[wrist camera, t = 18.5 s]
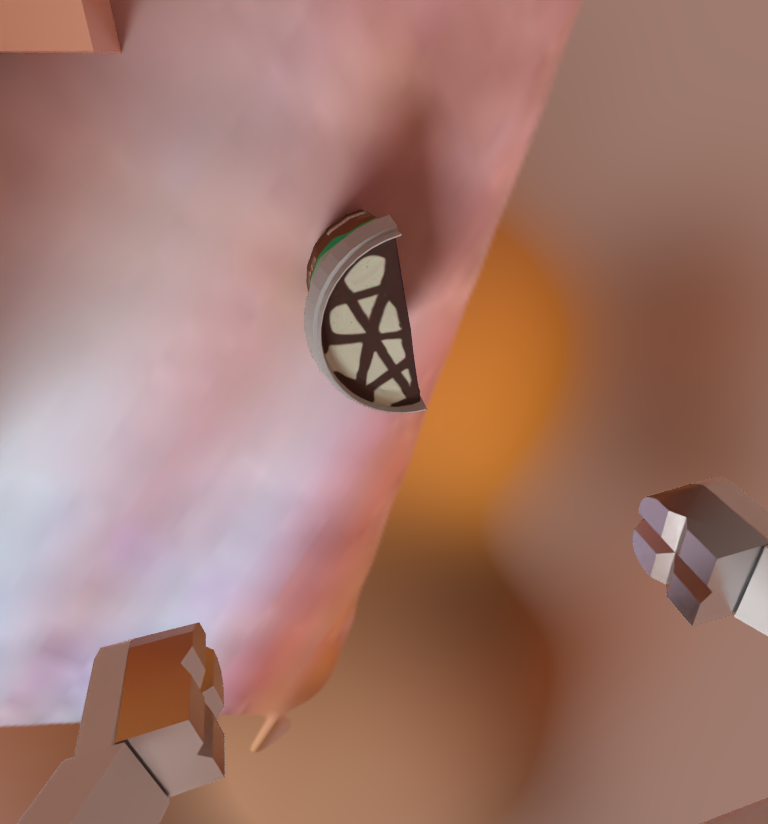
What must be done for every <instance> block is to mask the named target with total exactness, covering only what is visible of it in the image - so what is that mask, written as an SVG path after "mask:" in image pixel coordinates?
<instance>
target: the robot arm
mask: <svg viewBox="0 0 768 824" xmlns="http://www.w3.org/2000/svg"><path fill="white" fill-rule="evenodd" d="M639 513H640V515H641V516H642V517H643V520H642V521H641V522H640V523H639V524H638V526H637V527H636V528H635V529H634V534H633V540H632V542H633V546H634V550H635V554H636V557H637V559H638V560H639V562H640V564H641V566H642V567H643V568H644V570H645V571H646V572H647V573H648V575H649V576H650V577H652V578H654V579H656V580H658V581H660V582H662V583H664V584H666V594H667V597H668V598H669V600H670V601H671V602H672V603H673V604H674V606H675V607H676V608H677V609H678V610H679V611H680V613H681V614H682V615H683V616H684V617H685V619H686V620H687V621H688V622H689V623H690V624H691V626H695V625H699V624H702V623H706V622H709V621H713V620H716V619H720V618H723V617H726V616H730V615H733V614H735V616H734V617H736V618H737V619H739V620H741V621H743V622H744V623H746V624H748V625H749V626H751V627H753V628H755V629H756V630H758V631H760V632H762V633H763V634H765V635H767V636H768V511H767V510H765V509H764V508H763V507H761V506H760V505H759V504H758V503H757V502H756V501H754V500H753V499H752V498H751V497H749V496H748V495H747V494H746V493H744V492H743V491H742V490H741V489H740V488H738V487H737V486H736V485H735V484H733V483H732V482H731V481H729V480H728V479H726V478H723V477H720V476H719V477H715V478H711V479H707V480H704V481H701V482H697V483H694V484H688V485H684V486H681V487H677V488H674V489H670V490H667V491H664V492H660V493H657V494H654V495H650V496H647V497H645V498H644V500H642V501H641V503H640V507H639ZM223 708H224V687H223V680H222V673H221V668H220V665H219V661H218V658H217V656H216V654H215V652H214V650H213V649H210V648H208V647H206V634H205V632H204V630H203V628H202V626H201V625H200V623H195V624H191V625H187V626H183V627H179V628H175V629H171V630H167V631H163V632H159V633H155V634H151V635H147V636H143V637H139V638H135V639H131V640H128V641H124V642H120V643H117V644H113V645H109V646H105V647H102V648H100V650H99V652H98V653H97V655H96V657H95V659H94V663H93V667H92V672H91V677H90V682H89V686H88V691H87V696H86V701H85V705H84V710H83V715H82V720H81V725H80V729H79V735H78V739H77V744H76V749H75V753H74V757H72V758H69V759H66V760H63V761H62V763H61V764H60V765H59V767H58V768H57V770H56V771H55V772H54V774H53V775H52V776H51V778H50V779H49V780H48V782H47V783H46V785H45V786H44V787H43V789H42V790H41V792H40V793H39V794H38V795H37V797H36V798H35V800H34V801H33V802H32V804H31V805H30V806H29V808H28V809H27V810H26V812H25V813H24V815H23V816H22V817H21V819H20V820H19V821H18V823H17V824H160V821H161V819H162V817H163V815H164V813H165V811H166V809H167V807H168V805H169V802H170V799H169V797H171V796H174V795H177V794H180V793H183V792H186V791H189V790H191V789H194V788H197V787H200V786H203V785H205V784H208V783H211V782H214V781H217V780H219V779H222V778H225V776H224V775H225V771H224V770H225V769H224V768H225V761H224V760H225V757H224V756H225V755H224V754H225V753H224V733H223V730H222V729H221V727H220V725H219V723H218V721H217V718H218V716H219V714H220V713H221V711H222V709H223ZM700 824H768V797H767V798H765V799H762V800H760V801H757V802H754V803H752V804H750V805H747V806H744V807H742V808H739V809H736V810H734V811H731V812H729V813H726V814H724V815H721V816H718V817H716V818H713V819H711V820H708V821H706V822H703V823H700Z"/></svg>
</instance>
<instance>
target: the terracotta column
mask: <svg viewBox="0 0 768 824" xmlns="http://www.w3.org/2000/svg"><path fill="white" fill-rule="evenodd" d="M0 52H5V53H121V49H120V45H119V40H118V36H117V31H116V27H115V22H114V18H113V13H112V9H111V4H110V0H0Z"/></svg>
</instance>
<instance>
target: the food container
mask: <svg viewBox="0 0 768 824" xmlns="http://www.w3.org/2000/svg"><path fill="white" fill-rule="evenodd" d="M399 236H402V234H401V233H400V232H399V231H398V227H397V225H396V223H395V222H394V220H393V219H392V217H391V216H390V214H389V215H387V216H384V217H381V218H376V217H374V216H372V215H371V214H369V213H367V212H366V211H364V210H360V211H357V212H354V213H351V214H348V215H346V216H345V217H343V218H342V219H340V220H339V221H337V222H336V223H335V224H333V225H332V226H330V227H329V228H328V229H327V230H326V231H325V233H324V234H323V235H322V237H321V238H320V239H319V241H318V242H317V243H316V244H315V246H314V248H313V251H312V254H311V257H310V260H309V262H308V265H307V288H308V295H307V299H306V306H305V312H304V329H305V335H306V340H307V345H308V347H309V350H310V353H311V355H312V358H313V360H314V361H315V363H316V365H317V366H318V368H319V370H320V371H321V372H322V373H323V374H324V375H325V377H326V378H327V379H328V380H329V381H330V382H331V383H332V384H333V385H334V387H335V388H336V389H338V390H339V391H340V392H341V393H342V394H344V395H345V396H346V397H348V398H349V399H351V400H353V401H355V402H356V403H358V404H361V405H363V406H365V407H368V408H371V409H373V410H377V411H382V412H386V413H400V414H403V413H415V412H419V411H424V410H427V408H426V406H425V404H424V402H423V400H422V398H421V397H420V390H419V387H418V382H417V376H416V369H415V361H414V354H413V346H412V337H411V328H410V323H409V317H408V312H407V307H406V301H405V295H404V289H403V283H402V276H401V270H400V263H399V257H398V250H397V244H396V237H399Z"/></svg>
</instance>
